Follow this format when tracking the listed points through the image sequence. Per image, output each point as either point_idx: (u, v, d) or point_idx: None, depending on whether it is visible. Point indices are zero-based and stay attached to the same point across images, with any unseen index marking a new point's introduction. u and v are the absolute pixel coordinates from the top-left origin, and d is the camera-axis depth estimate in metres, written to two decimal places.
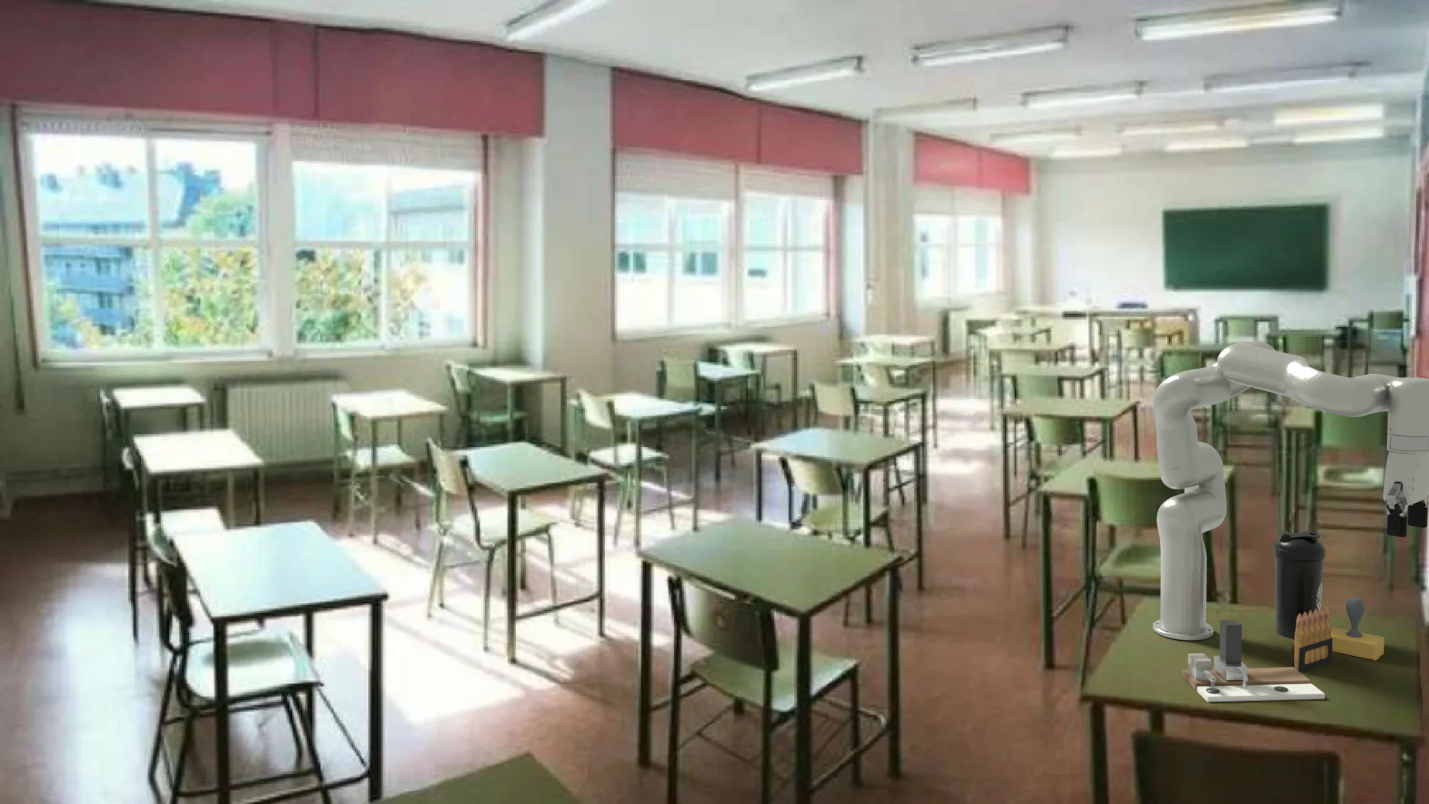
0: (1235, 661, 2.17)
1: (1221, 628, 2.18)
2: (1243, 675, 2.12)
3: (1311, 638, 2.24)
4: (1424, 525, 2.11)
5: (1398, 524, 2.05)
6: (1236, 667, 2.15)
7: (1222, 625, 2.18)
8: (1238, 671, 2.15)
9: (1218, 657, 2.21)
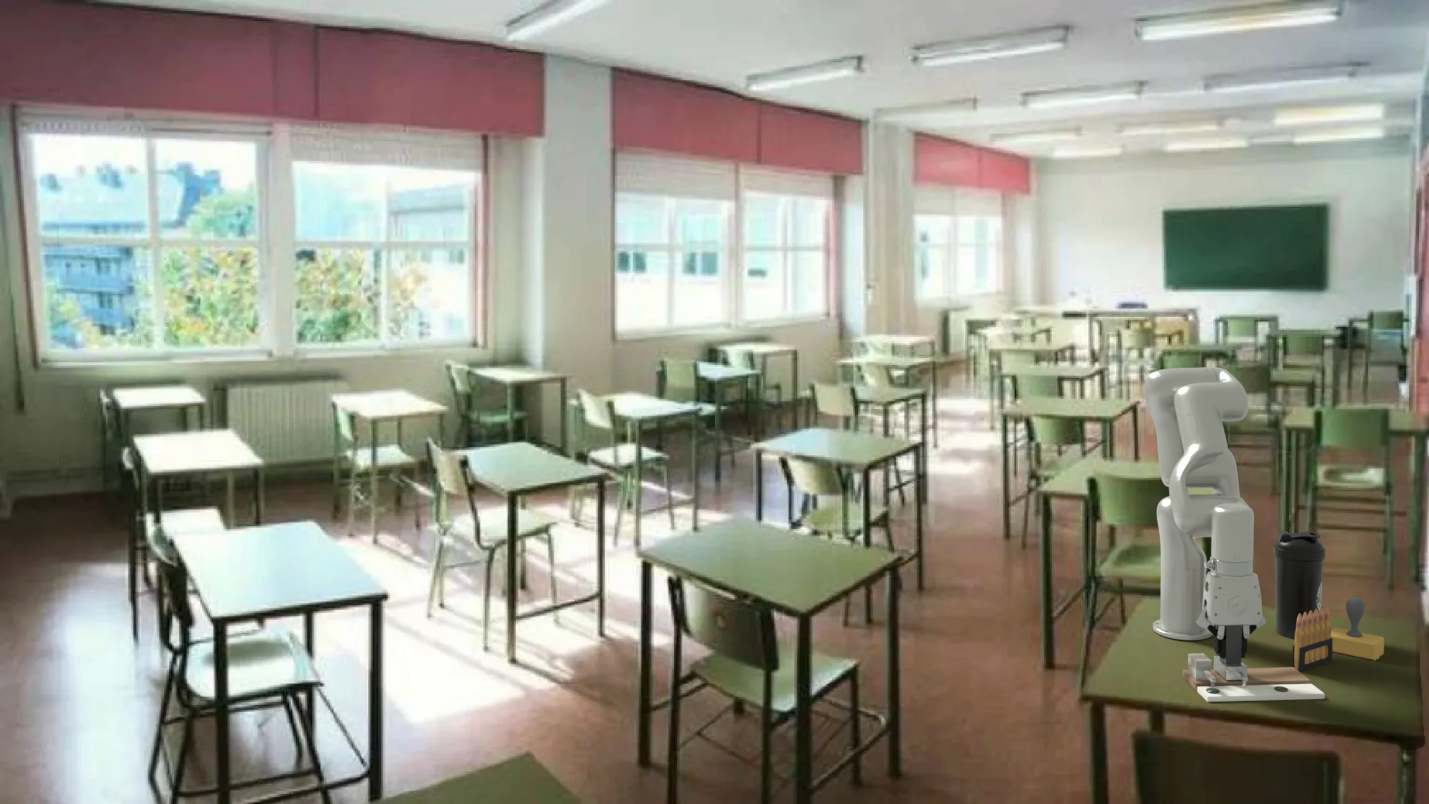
0: (1235, 661, 2.17)
1: None
2: (1243, 675, 2.12)
3: (1311, 638, 2.24)
4: None
5: None
6: (1236, 667, 2.15)
7: None
8: (1238, 671, 2.15)
9: (1218, 657, 2.21)
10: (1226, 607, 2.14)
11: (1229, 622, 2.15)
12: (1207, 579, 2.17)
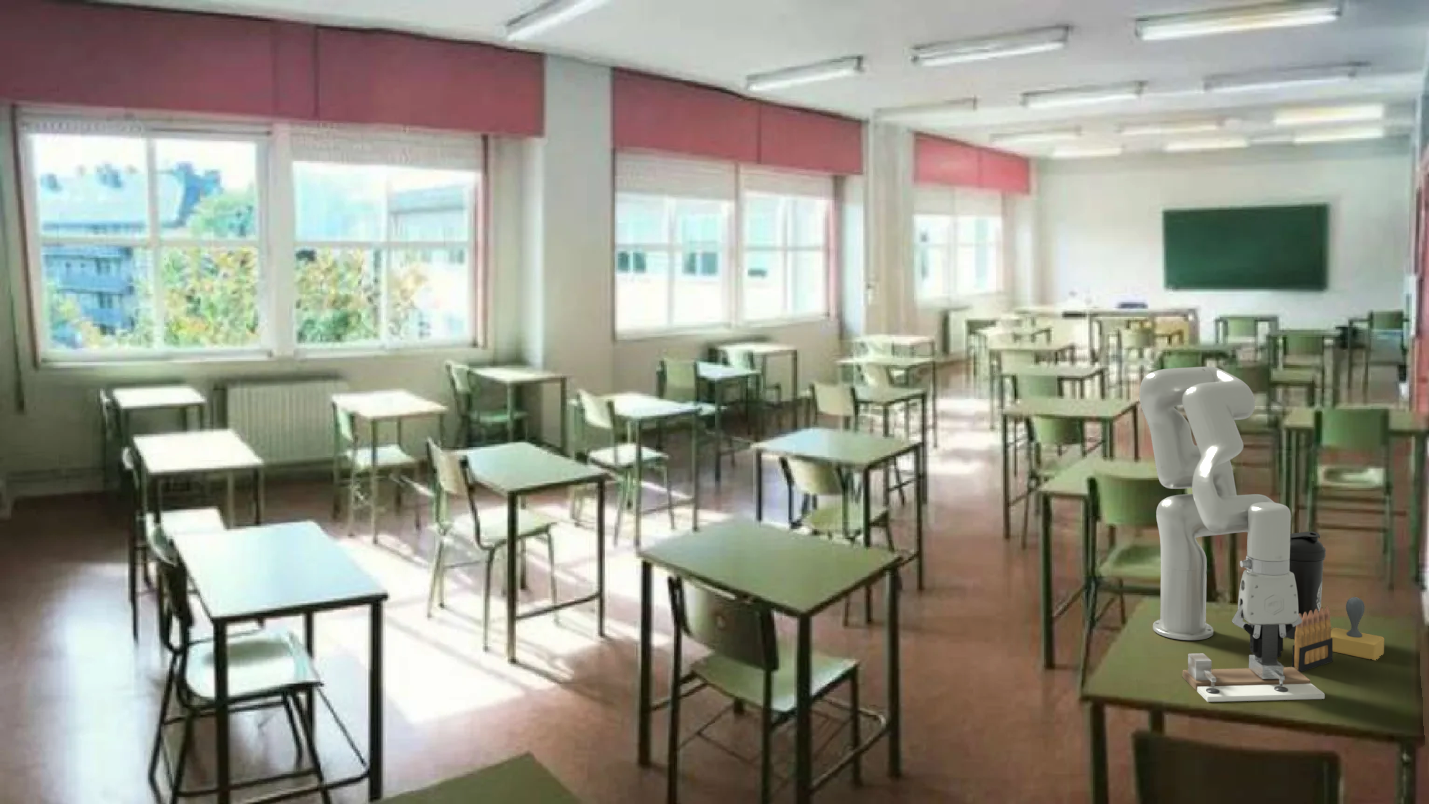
0: (1271, 660, 2.16)
1: None
2: (1280, 674, 2.12)
3: (1311, 638, 2.24)
4: None
5: None
6: (1272, 666, 2.15)
7: None
8: (1274, 670, 2.14)
9: (1253, 656, 2.20)
10: (1262, 606, 2.14)
11: (1265, 621, 2.14)
12: (1243, 578, 2.16)
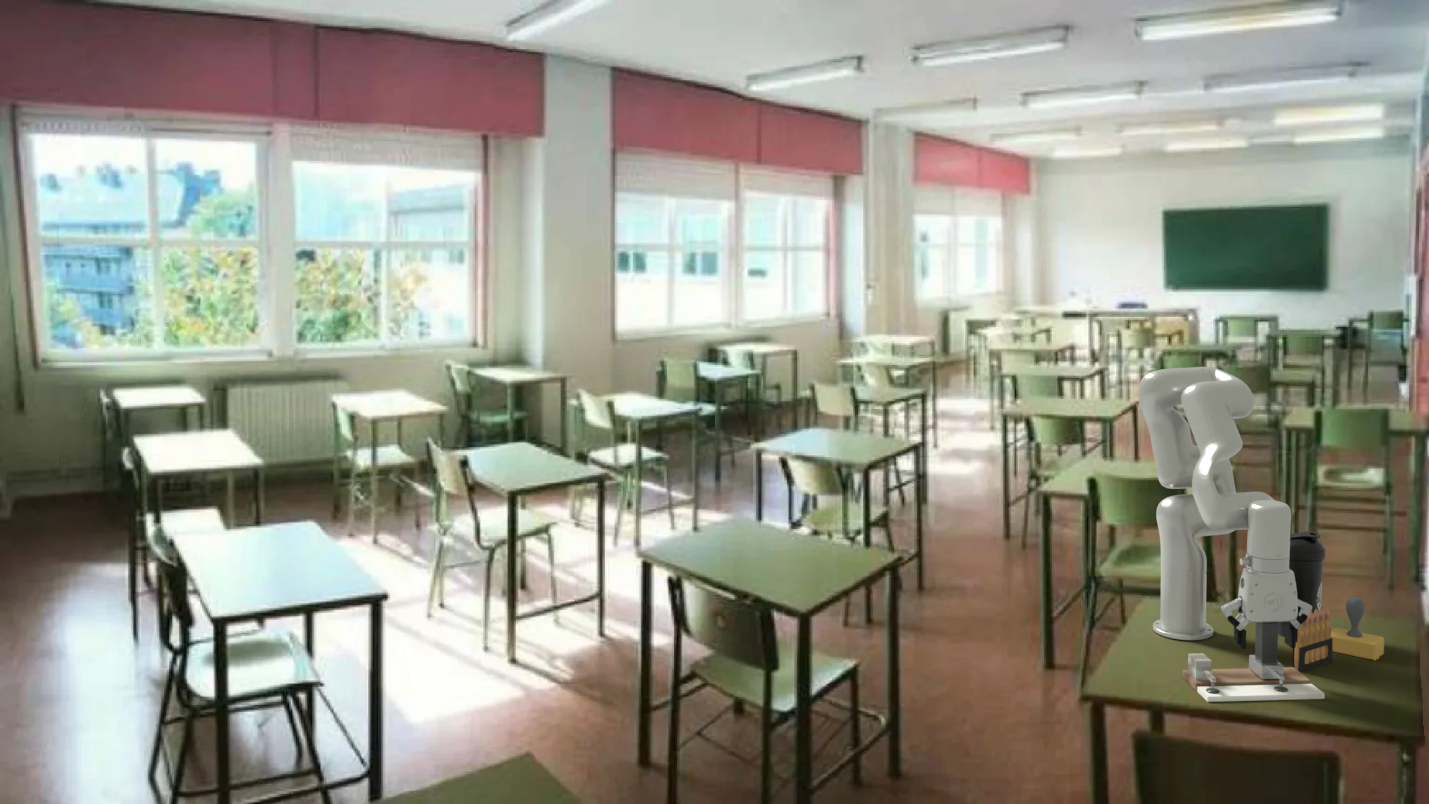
0: (1271, 660, 2.16)
1: (1257, 627, 2.18)
2: (1280, 674, 2.12)
3: (1311, 638, 2.24)
4: None
5: None
6: (1272, 666, 2.15)
7: (1258, 624, 2.17)
8: (1274, 670, 2.14)
9: (1253, 656, 2.20)
10: (1262, 604, 2.14)
11: (1264, 619, 2.14)
12: (1243, 576, 2.16)
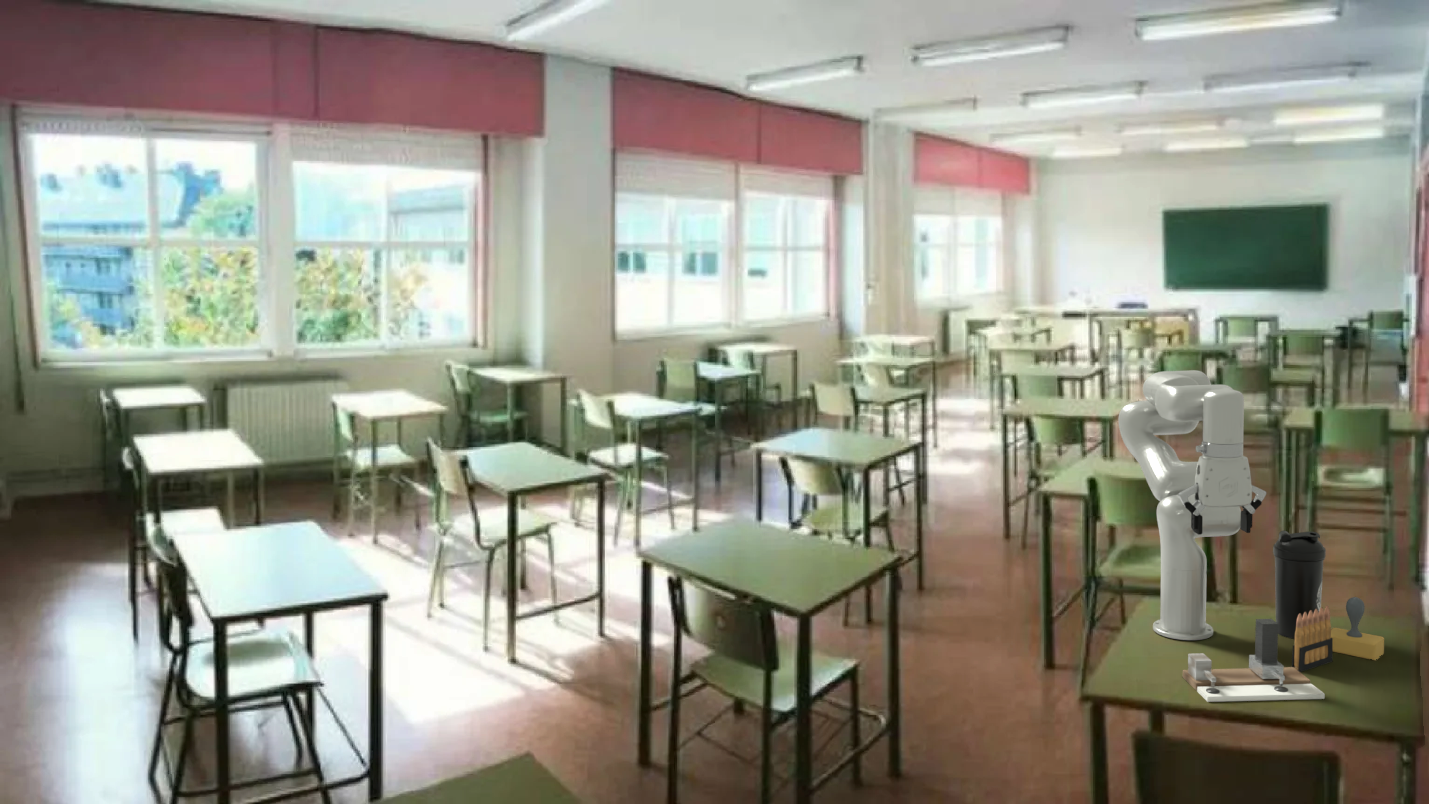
0: (1271, 660, 2.16)
1: (1257, 627, 2.18)
2: (1280, 674, 2.12)
3: (1311, 638, 2.24)
4: None
5: None
6: (1272, 666, 2.15)
7: (1258, 624, 2.17)
8: (1274, 670, 2.14)
9: (1253, 656, 2.20)
10: (1217, 488, 2.21)
11: (1219, 503, 2.22)
12: (1199, 463, 2.24)
